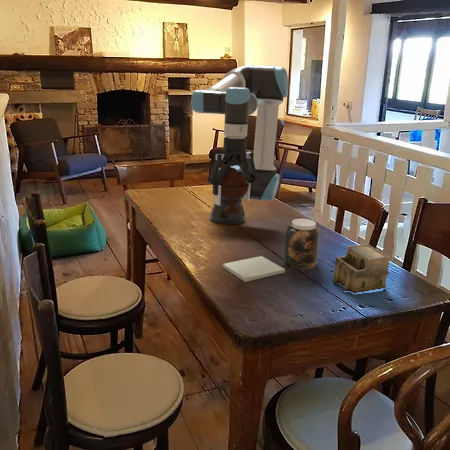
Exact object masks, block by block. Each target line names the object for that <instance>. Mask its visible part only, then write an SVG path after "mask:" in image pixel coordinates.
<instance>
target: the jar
mask: <svg viewBox="0 0 450 450" xmlns="http://www.w3.org/2000/svg"><path fill="white" fill-rule="evenodd" d="M320 232H321V231H320V228H319V227H317V223H316V221H315V220H312V219H308V218H294V219H292V221H291V224H289V225H288V226H287V227H286V232H285V240H284V241H285V242H284V249H283V264H284V265H285V266H287V267H289V268H291V269H293V270H294V269H295V270H301V271H302V270H303V271H306V270H305V269H308V270H311V269H314V268H316V267H317V263H318V258H319V257H318V256H319V255H318V254H319V246H320V245H319V244H320V237H321V235H320V234H321V233H320ZM315 266H316V267H315Z"/></svg>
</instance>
